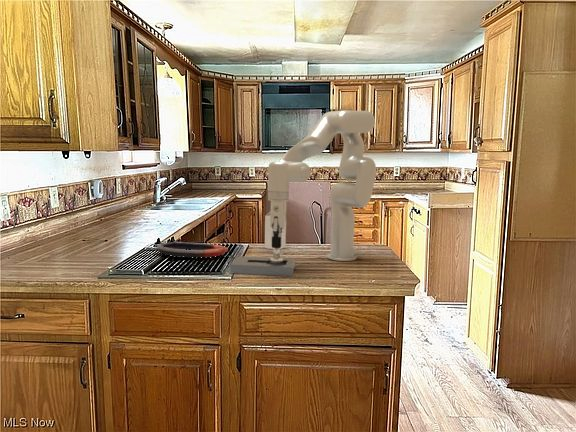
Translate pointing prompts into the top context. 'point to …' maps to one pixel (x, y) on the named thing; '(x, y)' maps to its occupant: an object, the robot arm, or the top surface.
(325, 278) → the top surface
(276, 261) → the peg
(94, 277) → the top surface
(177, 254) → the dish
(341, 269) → the top surface
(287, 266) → the keyhole plate
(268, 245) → the milk carton
